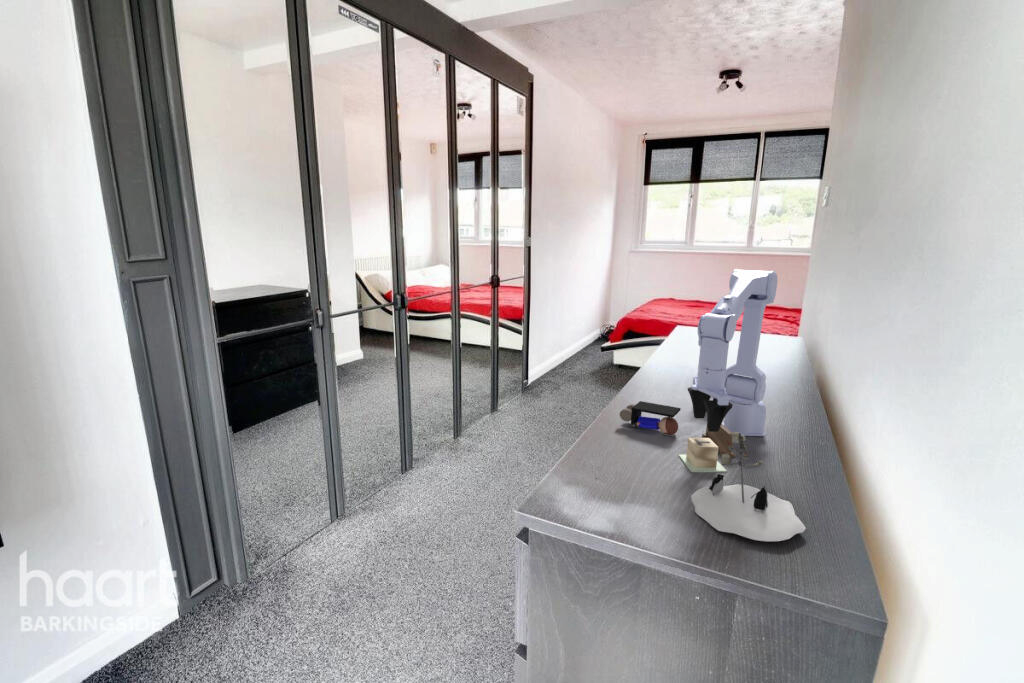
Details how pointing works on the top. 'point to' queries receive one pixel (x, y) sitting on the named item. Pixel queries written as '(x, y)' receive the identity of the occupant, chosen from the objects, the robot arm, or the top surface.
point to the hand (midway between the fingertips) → (705, 424)
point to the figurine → (745, 506)
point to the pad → (701, 469)
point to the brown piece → (721, 439)
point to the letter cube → (702, 452)
